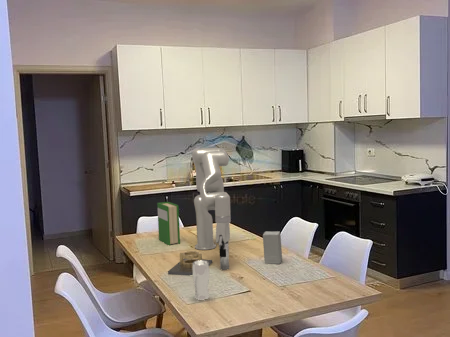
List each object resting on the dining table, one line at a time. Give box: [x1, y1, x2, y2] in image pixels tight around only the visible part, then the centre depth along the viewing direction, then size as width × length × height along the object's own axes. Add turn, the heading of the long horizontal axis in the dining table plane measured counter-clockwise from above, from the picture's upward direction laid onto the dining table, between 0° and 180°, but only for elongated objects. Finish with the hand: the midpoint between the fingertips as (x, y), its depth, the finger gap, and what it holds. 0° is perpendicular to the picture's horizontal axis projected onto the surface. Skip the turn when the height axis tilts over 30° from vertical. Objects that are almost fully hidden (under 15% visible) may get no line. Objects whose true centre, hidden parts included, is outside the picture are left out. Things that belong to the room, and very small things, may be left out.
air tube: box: [219, 240, 230, 271], centre depth 224 cm, size 5×5×16 cm
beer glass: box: [192, 260, 210, 301], centre depth 186 cm, size 7×7×15 cm
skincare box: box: [262, 231, 283, 265], centre depth 232 cm, size 8×7×16 cm
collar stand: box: [167, 251, 213, 276], centre depth 227 cm, size 22×16×8 cm
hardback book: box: [156, 201, 181, 246], centre depth 283 cm, size 18×7×24 cm, turn 28°
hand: (224, 255), depth 225 cm, fingers closed on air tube, 4 cm apart
